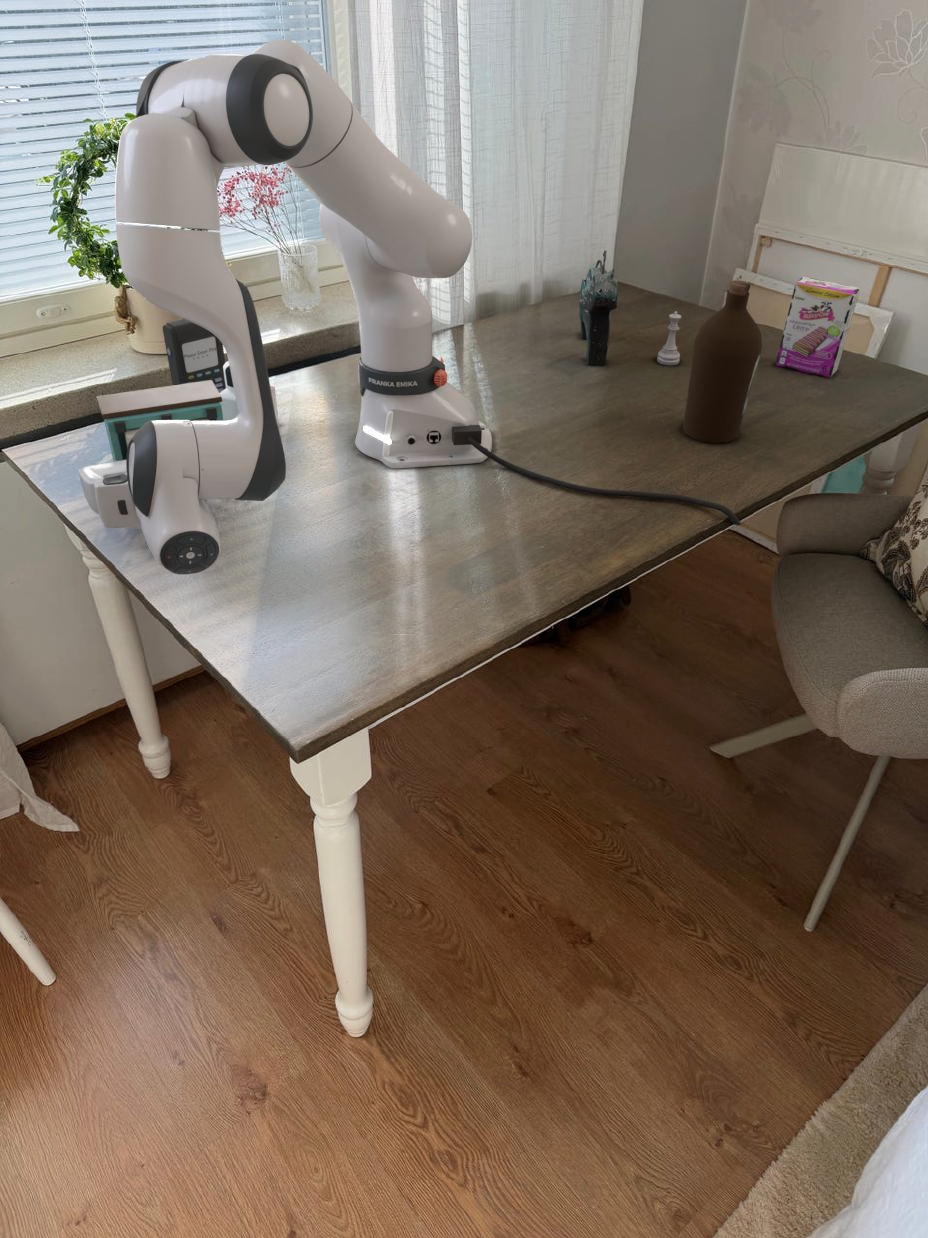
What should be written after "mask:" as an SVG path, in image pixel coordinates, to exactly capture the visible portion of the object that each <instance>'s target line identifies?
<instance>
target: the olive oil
mask: <svg viewBox="0 0 928 1238" xmlns="http://www.w3.org/2000/svg"><path fill="white" fill-rule="evenodd" d="M750 289H751V283H750V282H748V281H745V280H739V279H738V280H737V279H736V280H732V281H729V284H728V290H727V291H726V296H725V303H724V306H722V307H721V308H720V309H719V310H718V311H716V312H715V313H714V314H712V315H711V316H710V317H709V318H707V320H705V321H704V322H703V323H702V324H701V325H700V327H699V329H698V331H697V333H696V335H695V338H694V341H693V349H692V357H691V367H690V374H689V382H688V387H687V388H688V390H687V396H686V405H685V411H684V418H683V424H682V430H683V432H684V433H685V434H686V435H687V436H688V437H690V438H692V439H694V440H695V441H699V442H702V443H708V444H726V443H731V442H733V441H735V440H736V439H737V438H738V437H739V435H740V431H741V428H742V423H743V419H744V415H745V411H746V408H747V405H748V401H749V397H750V393H751V389H752V386H753V382H754V379H755V375H756V371H757V369H758V364H759V361H760V358H761V354H762V348H763V337H762V332H761V330H760V328H759V326H758V324H757V322H756V321H755V320H754V318H753V317H752V315H751V313H750V312H749V310H748V309H747V307H748V302H749V299H750V298H749V297H750V292H749V291H750Z"/></svg>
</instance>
